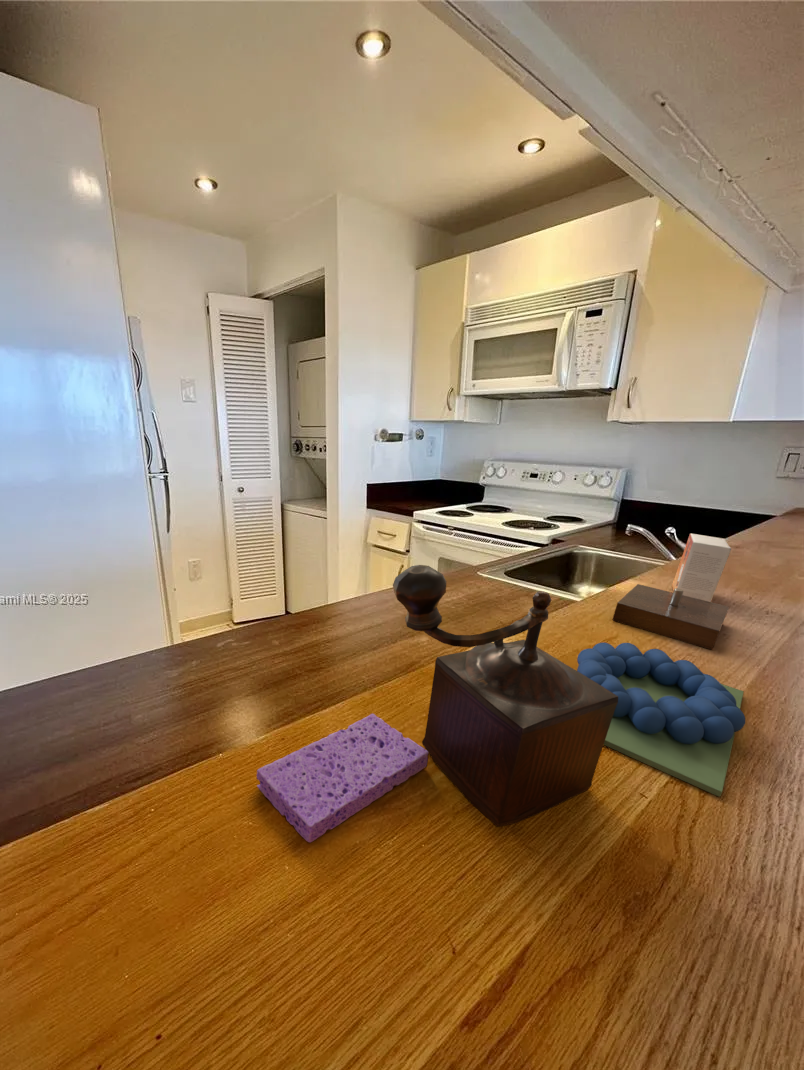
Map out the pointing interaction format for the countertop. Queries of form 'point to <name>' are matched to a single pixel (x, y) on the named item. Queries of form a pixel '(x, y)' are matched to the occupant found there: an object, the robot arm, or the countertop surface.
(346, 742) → the sponge
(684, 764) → the mat
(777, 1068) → the countertop surface
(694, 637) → the platform
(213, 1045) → the countertop surface
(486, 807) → the dark brown coffee grinder
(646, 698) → the ring
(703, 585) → the small box
